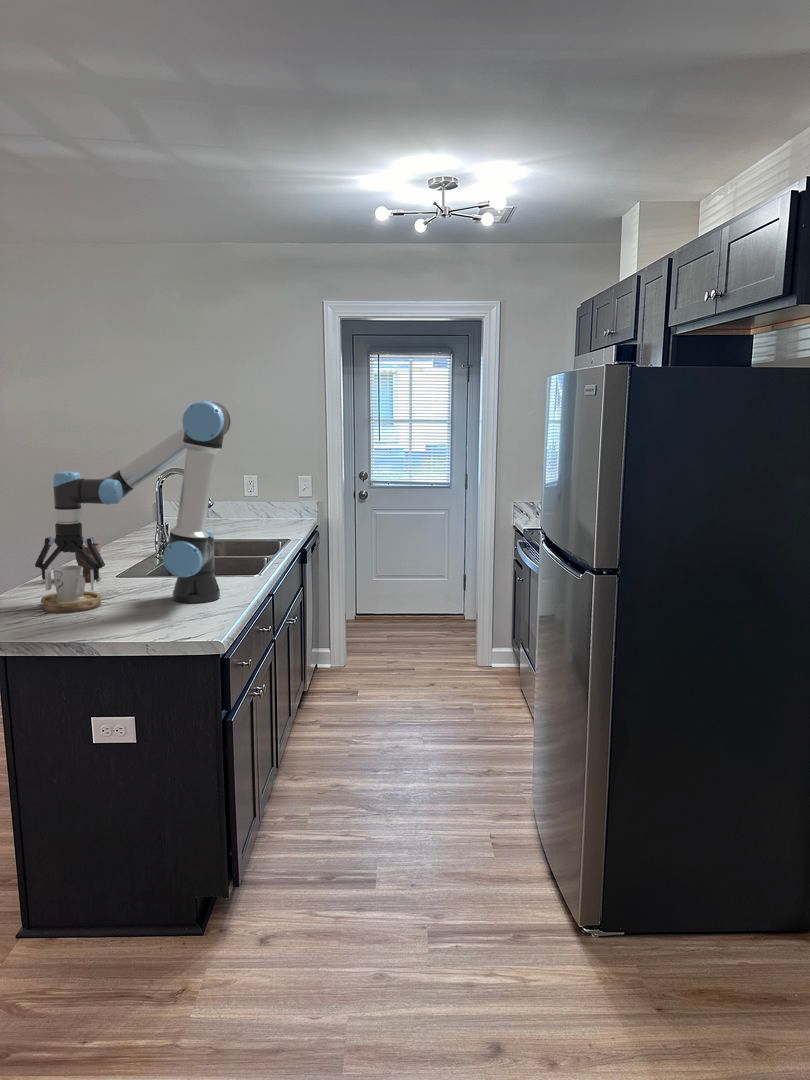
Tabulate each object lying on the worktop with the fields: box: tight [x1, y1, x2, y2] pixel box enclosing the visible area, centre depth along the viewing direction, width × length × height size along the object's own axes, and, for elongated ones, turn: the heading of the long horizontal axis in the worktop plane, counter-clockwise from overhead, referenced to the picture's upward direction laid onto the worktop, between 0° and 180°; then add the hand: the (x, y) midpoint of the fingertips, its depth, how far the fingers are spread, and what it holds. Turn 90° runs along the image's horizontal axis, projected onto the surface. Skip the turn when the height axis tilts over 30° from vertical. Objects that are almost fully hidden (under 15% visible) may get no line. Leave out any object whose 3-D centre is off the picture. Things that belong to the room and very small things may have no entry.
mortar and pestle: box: [74, 542, 102, 583], centre depth 272 cm, size 12×9×20 cm
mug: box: [52, 564, 86, 601], centre depth 237 cm, size 11×8×10 cm
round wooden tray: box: [40, 590, 102, 614], centre depth 238 cm, size 17×17×3 cm
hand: (71, 589), depth 237 cm, fingers open, 13 cm apart
